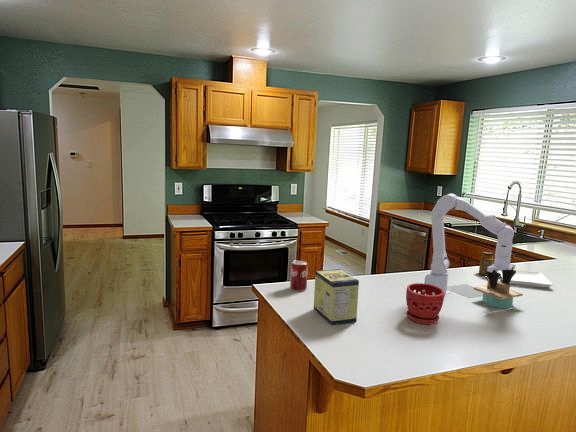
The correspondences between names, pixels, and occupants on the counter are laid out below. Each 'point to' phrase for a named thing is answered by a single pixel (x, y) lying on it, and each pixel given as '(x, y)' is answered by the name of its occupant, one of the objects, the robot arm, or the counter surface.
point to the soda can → (298, 275)
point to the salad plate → (529, 279)
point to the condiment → (485, 263)
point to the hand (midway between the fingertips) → (499, 287)
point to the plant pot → (424, 302)
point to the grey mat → (465, 290)
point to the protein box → (336, 296)
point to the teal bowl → (497, 301)
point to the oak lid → (499, 291)
